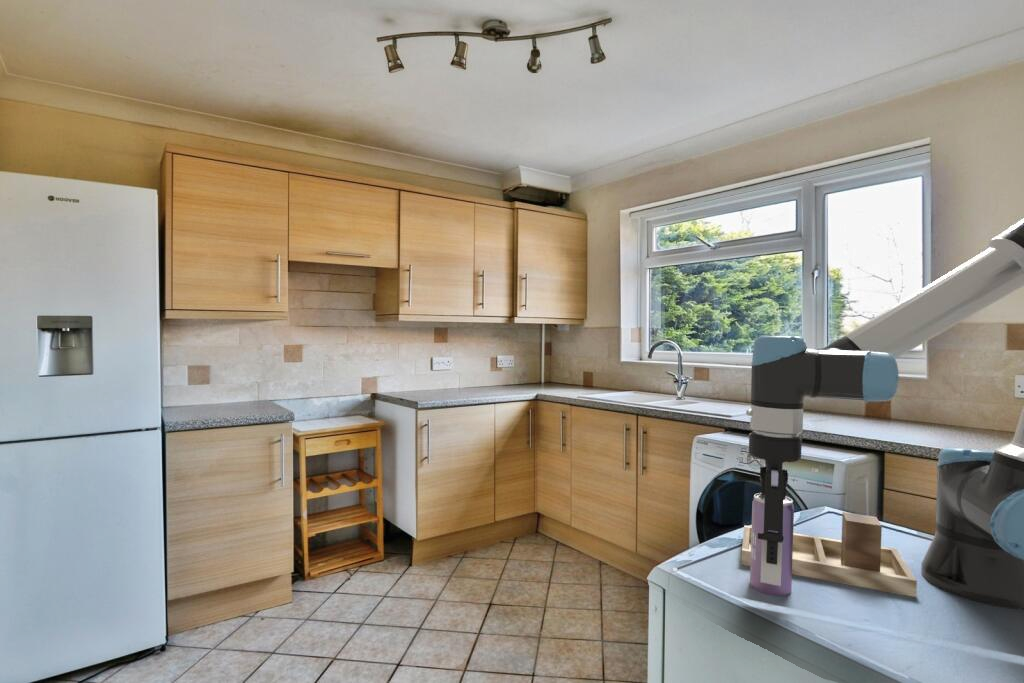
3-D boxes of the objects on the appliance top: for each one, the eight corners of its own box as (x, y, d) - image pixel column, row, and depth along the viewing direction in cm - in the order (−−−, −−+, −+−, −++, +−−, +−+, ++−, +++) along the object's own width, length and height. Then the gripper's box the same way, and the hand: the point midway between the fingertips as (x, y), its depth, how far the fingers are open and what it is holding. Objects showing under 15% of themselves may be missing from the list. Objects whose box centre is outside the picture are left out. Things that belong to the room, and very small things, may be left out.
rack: (896, 567, 97) (896, 549, 97) (916, 601, 84) (916, 580, 84) (743, 541, 107) (744, 525, 107) (741, 568, 95) (741, 550, 95)
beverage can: (796, 602, 83) (799, 505, 83) (754, 598, 84) (757, 501, 84) (784, 585, 89) (787, 494, 89) (746, 581, 90) (748, 491, 90)
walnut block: (874, 568, 94) (876, 516, 94) (879, 579, 90) (881, 525, 90) (840, 562, 97) (842, 512, 96) (844, 573, 92) (846, 520, 92)
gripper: (751, 420, 99) (746, 535, 99) (747, 443, 76) (741, 593, 77) (797, 424, 96) (792, 543, 96) (807, 450, 73) (801, 606, 74)
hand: (770, 566), depth 86 cm, fingers open, 13 cm apart
